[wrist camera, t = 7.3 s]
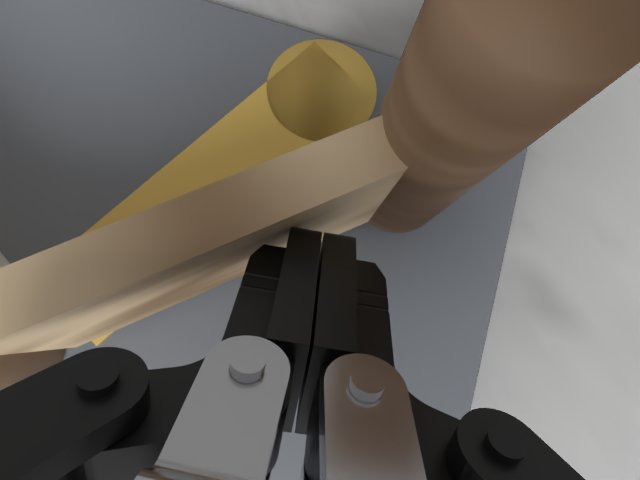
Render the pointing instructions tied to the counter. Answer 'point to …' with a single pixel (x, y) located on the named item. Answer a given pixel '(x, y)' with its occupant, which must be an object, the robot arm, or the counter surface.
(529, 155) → the counter surface
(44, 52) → the board
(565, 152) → the counter surface
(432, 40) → the plank with upright peg
